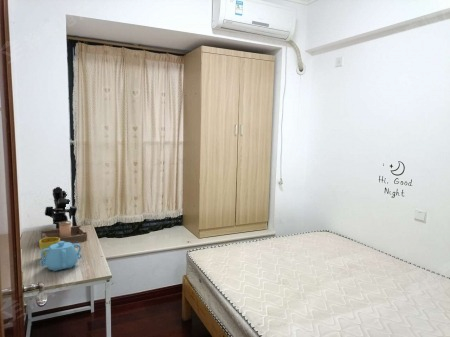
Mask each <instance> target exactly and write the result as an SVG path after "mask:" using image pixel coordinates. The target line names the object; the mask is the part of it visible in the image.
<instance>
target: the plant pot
mask: <svg viewBox="0 0 450 337" xmlns="http://www.w3.org/2000/svg"><path fill="white" fill-rule="evenodd" d="M58 242H60V238H58V237H48V238H44V239H40V240H39V241H38V244H39V245H38V246H39V248H40V250H41V251H42V250H43V249H46V248H49V247H50V246H51V245H53V244H57V243H58ZM47 251H48V250H47ZM47 251H44V252H43V257H44V258H45V256H46V253H47Z"/></svg>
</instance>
